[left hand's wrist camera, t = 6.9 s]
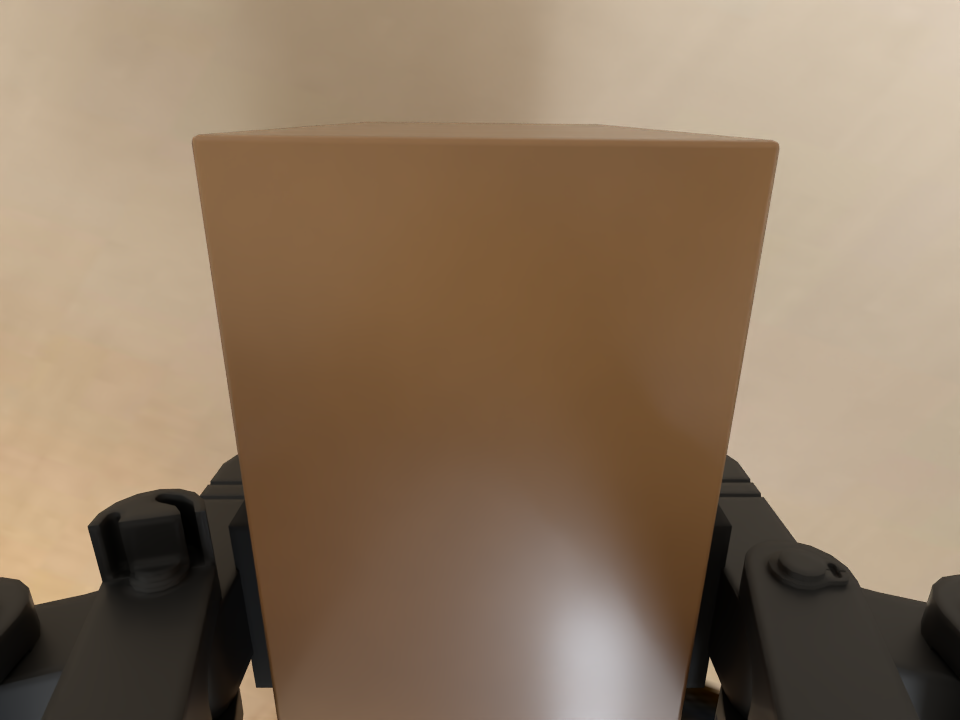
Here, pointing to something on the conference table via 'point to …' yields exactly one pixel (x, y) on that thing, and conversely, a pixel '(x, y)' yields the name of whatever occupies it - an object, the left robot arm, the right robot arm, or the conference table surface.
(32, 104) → the conference table surface
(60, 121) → the conference table surface
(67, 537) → the conference table surface
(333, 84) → the conference table surface
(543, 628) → the beam
